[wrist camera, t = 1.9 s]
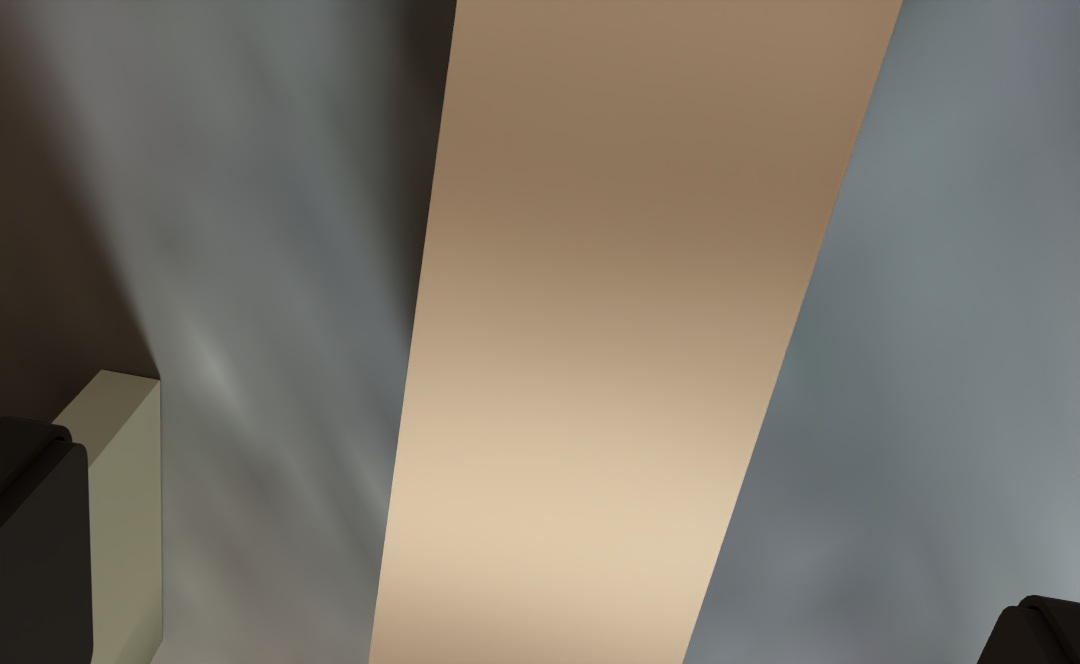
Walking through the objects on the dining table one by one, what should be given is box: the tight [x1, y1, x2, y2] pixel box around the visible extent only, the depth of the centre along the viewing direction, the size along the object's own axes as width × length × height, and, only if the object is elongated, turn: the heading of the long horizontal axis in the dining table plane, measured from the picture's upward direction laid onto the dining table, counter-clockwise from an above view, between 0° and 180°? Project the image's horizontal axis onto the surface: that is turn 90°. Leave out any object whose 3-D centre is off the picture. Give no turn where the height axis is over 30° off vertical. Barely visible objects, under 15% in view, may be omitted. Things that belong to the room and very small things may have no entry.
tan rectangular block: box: [368, 0, 903, 664], centre depth 12 cm, size 14×4×6 cm, turn 170°
